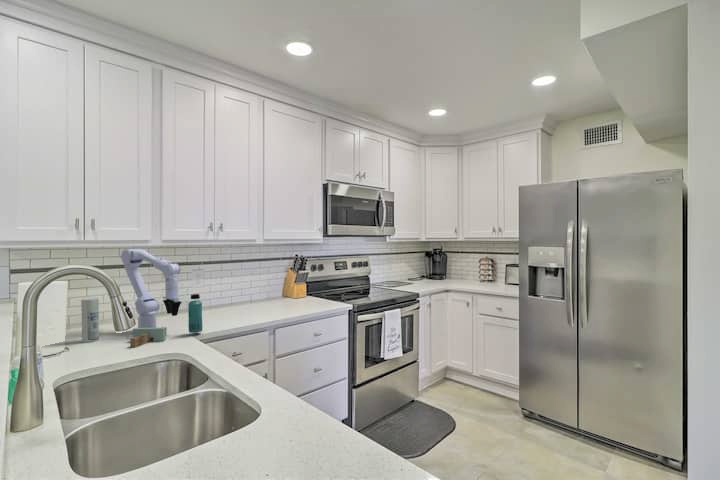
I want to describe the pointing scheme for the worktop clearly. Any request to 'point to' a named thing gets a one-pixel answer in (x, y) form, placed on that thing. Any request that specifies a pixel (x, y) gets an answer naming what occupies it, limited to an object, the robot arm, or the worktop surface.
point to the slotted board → (140, 340)
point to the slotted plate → (151, 333)
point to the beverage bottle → (195, 315)
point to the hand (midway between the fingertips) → (172, 314)
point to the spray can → (90, 319)
